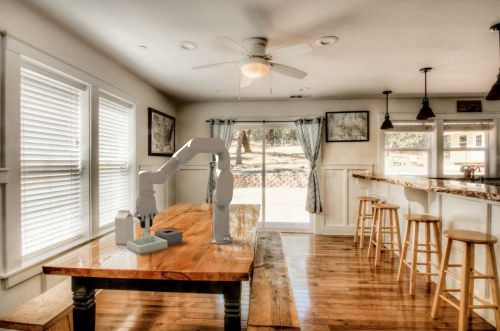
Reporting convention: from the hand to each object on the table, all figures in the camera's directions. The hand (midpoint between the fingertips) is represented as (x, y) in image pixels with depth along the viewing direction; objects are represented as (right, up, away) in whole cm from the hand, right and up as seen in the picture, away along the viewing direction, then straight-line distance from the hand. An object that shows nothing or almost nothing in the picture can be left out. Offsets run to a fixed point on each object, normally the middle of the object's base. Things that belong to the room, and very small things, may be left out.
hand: (146, 227), depth 155 cm
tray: (0, -12, 0) cm, 12 cm away
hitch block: (+8, -11, +12) cm, 18 cm away
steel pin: (0, -8, 0) cm, 8 cm away
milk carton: (-17, -12, +11) cm, 23 cm away
